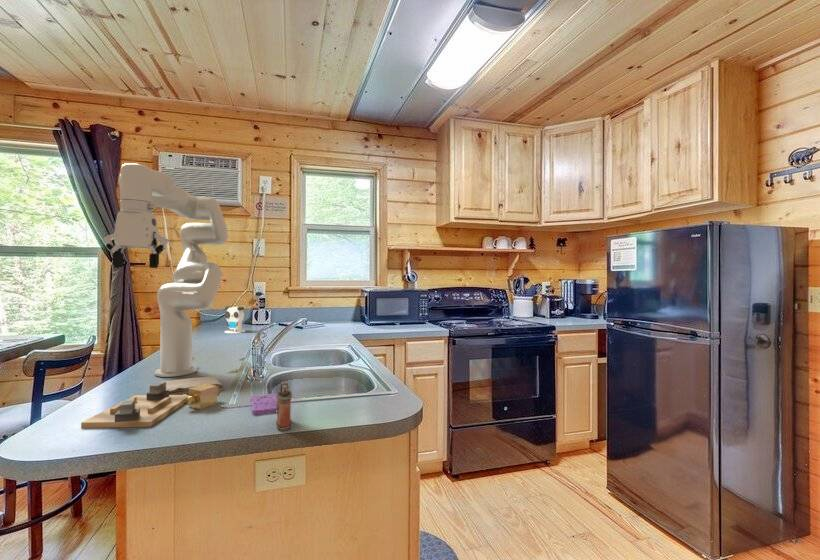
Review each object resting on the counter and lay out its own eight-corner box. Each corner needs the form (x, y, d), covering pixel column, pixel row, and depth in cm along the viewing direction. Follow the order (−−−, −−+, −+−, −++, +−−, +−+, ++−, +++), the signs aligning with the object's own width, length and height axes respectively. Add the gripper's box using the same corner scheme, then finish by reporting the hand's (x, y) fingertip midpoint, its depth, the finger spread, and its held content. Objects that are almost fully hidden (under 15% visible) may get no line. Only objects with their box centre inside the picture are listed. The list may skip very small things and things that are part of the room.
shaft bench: (134, 399, 109) (134, 381, 109) (190, 399, 111) (191, 380, 111) (80, 428, 89) (80, 405, 89) (150, 426, 91) (150, 404, 91)
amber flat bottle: (275, 420, 96) (276, 379, 96) (290, 418, 98) (290, 378, 97) (276, 432, 89) (277, 388, 89) (292, 430, 90) (293, 387, 90)
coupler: (193, 412, 101) (193, 392, 101) (181, 409, 103) (181, 390, 103) (222, 402, 109) (223, 384, 109) (211, 399, 111) (212, 382, 111)
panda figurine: (219, 332, 231) (219, 306, 231) (234, 329, 242) (235, 305, 241) (234, 333, 226) (234, 307, 226) (249, 331, 237) (249, 306, 237)
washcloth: (152, 390, 120) (152, 380, 120) (217, 382, 130) (217, 372, 130) (153, 401, 110) (153, 390, 110) (223, 391, 120) (223, 381, 120)
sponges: (276, 399, 114) (276, 392, 114) (281, 413, 102) (281, 406, 102) (250, 402, 111) (250, 395, 111) (252, 417, 99) (252, 410, 99)
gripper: (174, 211, 118) (174, 268, 119) (113, 209, 117) (112, 267, 117) (161, 207, 111) (160, 267, 111) (95, 205, 109) (95, 266, 110)
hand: (136, 267), depth 114 cm, fingers open, 9 cm apart
